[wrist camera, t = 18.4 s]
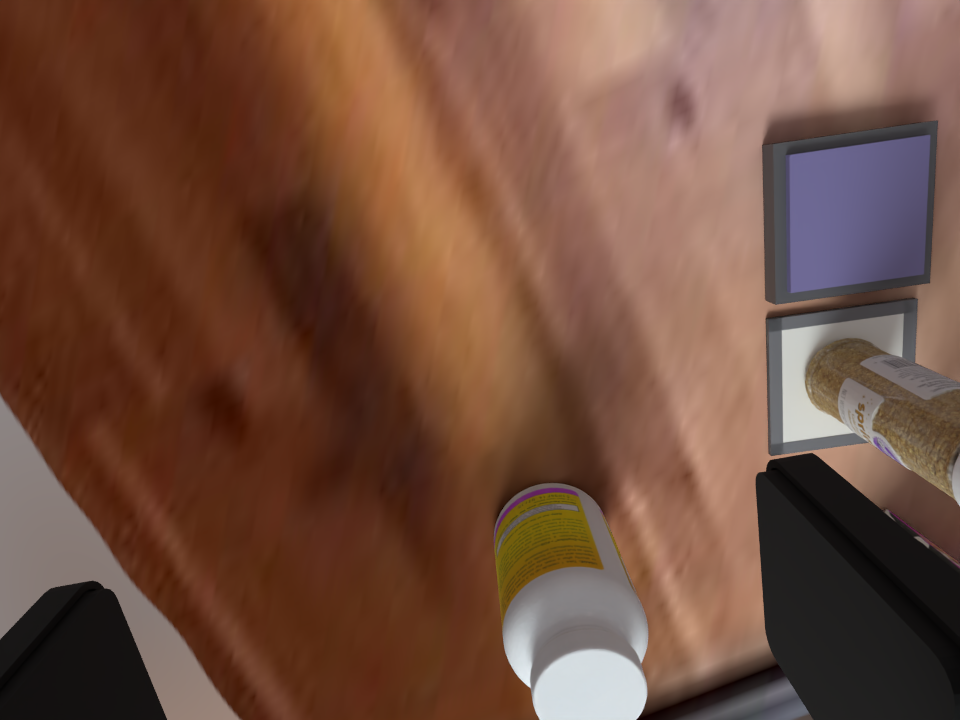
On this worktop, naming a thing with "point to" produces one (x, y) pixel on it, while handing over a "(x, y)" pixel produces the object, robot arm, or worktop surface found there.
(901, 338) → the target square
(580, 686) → the supplement bottle
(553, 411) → the worktop surface
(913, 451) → the sprinkles bottle
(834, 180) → the ink pad
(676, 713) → the worktop surface
